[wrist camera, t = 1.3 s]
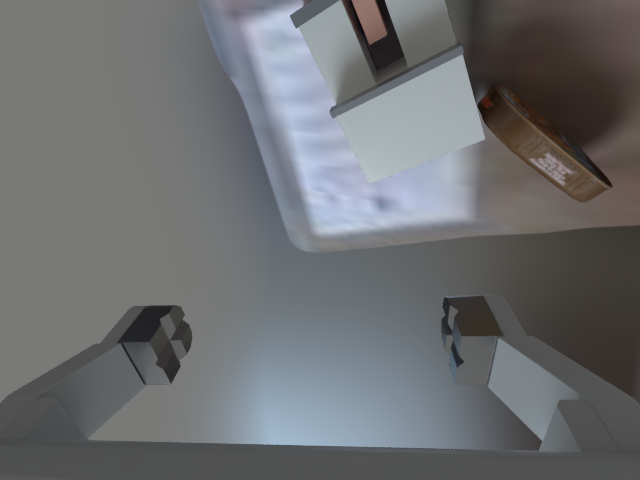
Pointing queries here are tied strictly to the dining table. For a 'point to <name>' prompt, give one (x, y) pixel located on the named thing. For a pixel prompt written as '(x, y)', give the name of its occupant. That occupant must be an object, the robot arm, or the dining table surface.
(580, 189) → the tin
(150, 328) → the robot arm
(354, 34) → the dispenser
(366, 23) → the brown block
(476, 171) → the dining table surface
